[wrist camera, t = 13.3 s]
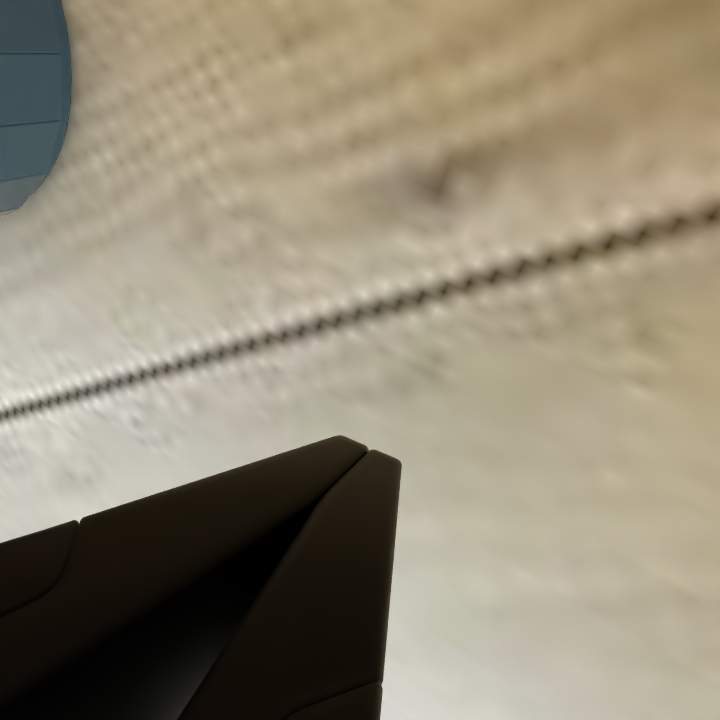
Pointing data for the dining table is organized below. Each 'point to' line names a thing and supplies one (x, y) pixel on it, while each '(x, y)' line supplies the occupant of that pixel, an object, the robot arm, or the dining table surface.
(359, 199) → the dining table surface
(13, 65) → the bowl
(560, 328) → the dining table surface
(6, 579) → the robot arm
